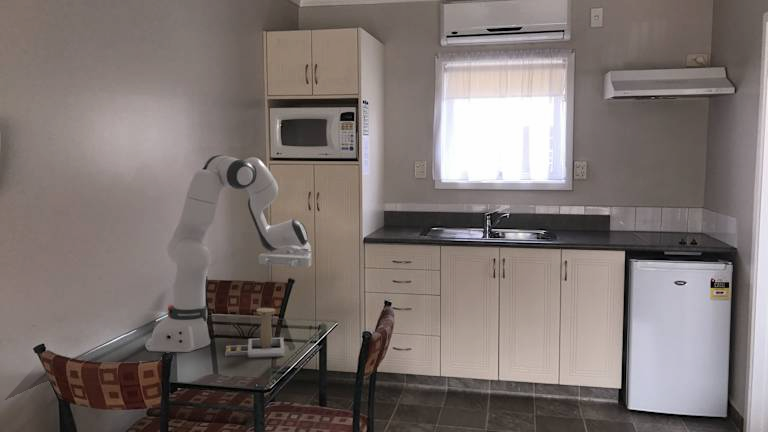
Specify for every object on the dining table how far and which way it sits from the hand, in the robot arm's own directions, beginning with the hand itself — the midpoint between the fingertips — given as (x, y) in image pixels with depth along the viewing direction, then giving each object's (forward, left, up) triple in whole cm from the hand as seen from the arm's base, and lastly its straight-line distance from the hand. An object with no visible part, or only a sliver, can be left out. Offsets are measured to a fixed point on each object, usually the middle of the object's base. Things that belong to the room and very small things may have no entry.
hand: (278, 263), depth 246 cm
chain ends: (-9, -16, -28) cm, 33 cm away
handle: (-5, -16, -28) cm, 33 cm away
